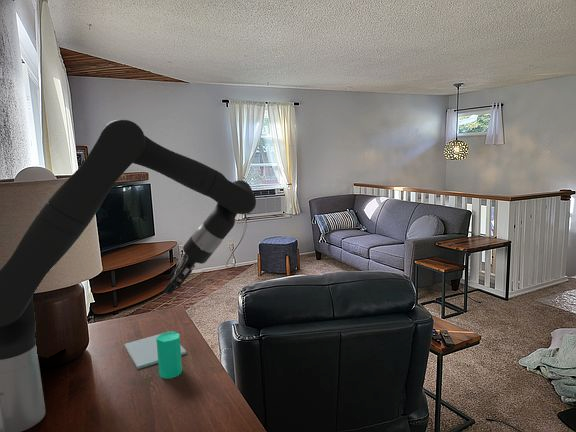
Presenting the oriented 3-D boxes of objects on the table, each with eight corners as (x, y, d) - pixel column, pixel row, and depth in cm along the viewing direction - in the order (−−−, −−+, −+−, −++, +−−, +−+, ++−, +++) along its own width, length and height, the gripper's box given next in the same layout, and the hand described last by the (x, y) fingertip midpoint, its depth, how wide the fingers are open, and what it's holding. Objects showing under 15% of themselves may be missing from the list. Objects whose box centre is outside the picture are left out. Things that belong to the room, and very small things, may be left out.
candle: (168, 381, 100) (164, 338, 98) (154, 373, 104) (151, 332, 102) (186, 370, 105) (184, 329, 103) (173, 363, 108) (170, 324, 106)
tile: (186, 353, 114) (186, 351, 114) (137, 369, 106) (137, 366, 106) (169, 333, 127) (169, 331, 127) (124, 346, 119) (124, 343, 119)
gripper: (195, 225, 111) (163, 266, 114) (188, 245, 97) (152, 290, 100) (217, 240, 113) (184, 279, 116) (213, 261, 99) (176, 305, 102)
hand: (169, 284), depth 108 cm, fingers open, 8 cm apart
